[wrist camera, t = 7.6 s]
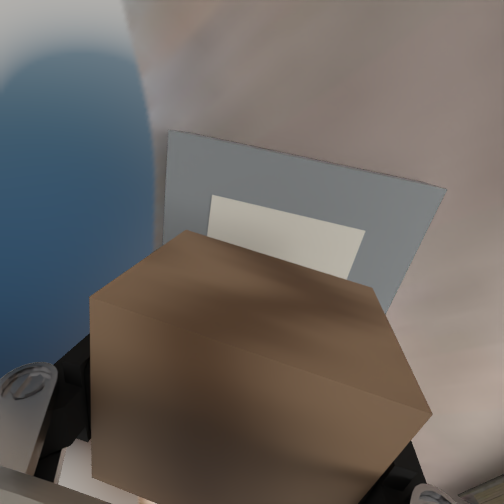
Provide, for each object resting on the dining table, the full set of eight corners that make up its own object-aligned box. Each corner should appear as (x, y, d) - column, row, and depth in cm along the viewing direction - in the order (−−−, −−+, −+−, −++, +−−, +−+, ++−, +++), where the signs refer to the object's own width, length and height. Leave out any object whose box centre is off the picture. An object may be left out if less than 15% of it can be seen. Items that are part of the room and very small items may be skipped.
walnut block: (372, 287, 10) (432, 414, 5) (306, 413, 13) (307, 563, 8) (185, 229, 10) (89, 296, 6) (165, 363, 13) (91, 477, 9)
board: (425, 182, 14) (448, 189, 12) (342, 364, 20) (347, 393, 18) (188, 132, 16) (167, 129, 14) (173, 315, 22) (157, 336, 19)
